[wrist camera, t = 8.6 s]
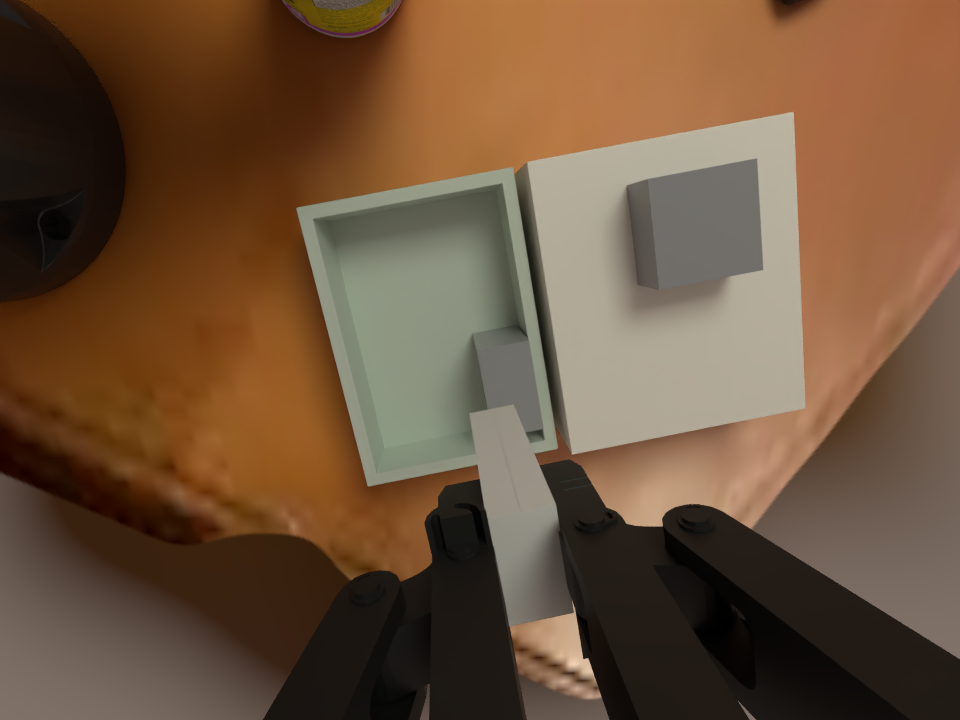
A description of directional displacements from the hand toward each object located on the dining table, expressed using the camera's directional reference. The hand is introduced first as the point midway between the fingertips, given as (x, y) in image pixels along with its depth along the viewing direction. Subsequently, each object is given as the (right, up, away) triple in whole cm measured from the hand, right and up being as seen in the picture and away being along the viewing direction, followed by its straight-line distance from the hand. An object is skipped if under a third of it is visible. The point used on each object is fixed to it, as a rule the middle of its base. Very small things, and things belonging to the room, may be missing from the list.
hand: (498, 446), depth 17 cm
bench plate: (+8, +7, +12) cm, 16 cm away
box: (-3, +5, +12) cm, 13 cm away
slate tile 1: (+2, +2, +10) cm, 10 cm away
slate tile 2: (+9, +9, +6) cm, 14 cm away
